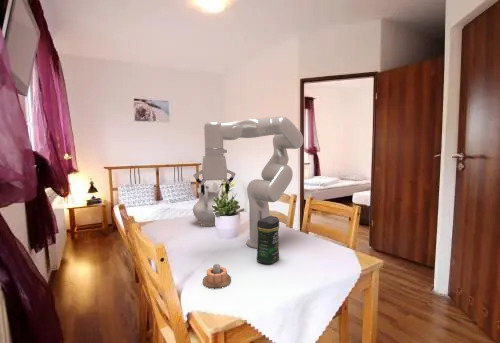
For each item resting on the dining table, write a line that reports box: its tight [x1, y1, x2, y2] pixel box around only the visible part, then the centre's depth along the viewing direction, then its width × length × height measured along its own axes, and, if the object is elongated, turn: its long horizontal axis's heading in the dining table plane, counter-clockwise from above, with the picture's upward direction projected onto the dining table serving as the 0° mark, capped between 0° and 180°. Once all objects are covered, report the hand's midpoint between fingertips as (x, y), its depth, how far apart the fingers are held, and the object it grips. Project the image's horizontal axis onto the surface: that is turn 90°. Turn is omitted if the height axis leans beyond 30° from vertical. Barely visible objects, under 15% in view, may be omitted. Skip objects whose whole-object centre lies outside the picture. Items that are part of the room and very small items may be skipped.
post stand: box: [202, 263, 232, 290], centre depth 101 cm, size 10×10×6 cm
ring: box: [206, 266, 228, 284], centre depth 102 cm, size 7×7×3 cm
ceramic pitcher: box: [192, 182, 221, 227], centre depth 170 cm, size 22×20×25 cm
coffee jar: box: [256, 215, 280, 265], centre depth 118 cm, size 10×8×19 cm
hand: (215, 193), depth 118 cm, fingers open, 9 cm apart
